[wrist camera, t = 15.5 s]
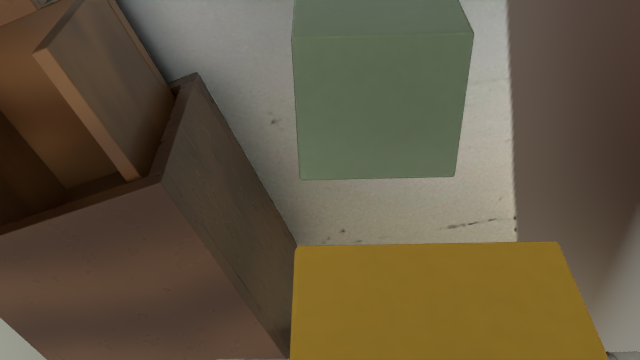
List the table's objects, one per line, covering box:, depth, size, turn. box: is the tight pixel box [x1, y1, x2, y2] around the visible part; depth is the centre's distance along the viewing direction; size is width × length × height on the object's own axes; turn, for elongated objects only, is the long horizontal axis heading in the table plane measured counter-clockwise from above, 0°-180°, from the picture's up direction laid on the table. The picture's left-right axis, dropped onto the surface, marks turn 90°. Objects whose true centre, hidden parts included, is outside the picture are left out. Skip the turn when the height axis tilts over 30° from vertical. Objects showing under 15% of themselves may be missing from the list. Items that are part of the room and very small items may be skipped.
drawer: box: [0, 0, 176, 226], centre depth 29 cm, size 18×12×8 cm, turn 22°
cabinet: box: [0, 73, 297, 360], centre depth 37 cm, size 15×13×10 cm
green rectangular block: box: [291, 0, 474, 180], centre depth 24 cm, size 5×5×16 cm
